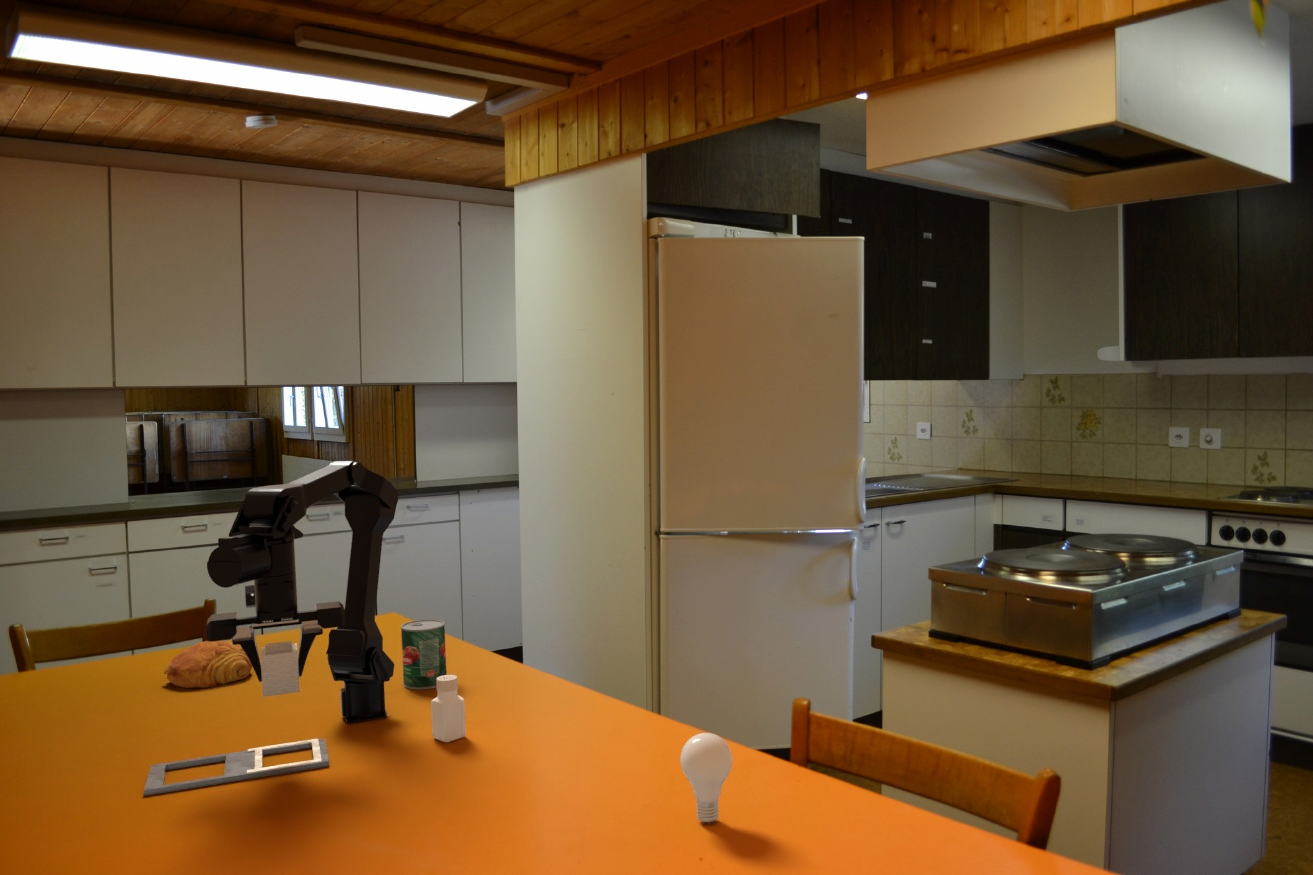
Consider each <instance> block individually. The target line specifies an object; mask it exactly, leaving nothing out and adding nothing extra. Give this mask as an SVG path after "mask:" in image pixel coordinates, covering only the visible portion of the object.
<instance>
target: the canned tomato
mask: <svg viewBox="0 0 1313 875" xmlns="http://www.w3.org/2000/svg"><path fill="white" fill-rule="evenodd" d="M445 623H446V622H444V621H443V620H440V619H418V620H412V621H407V622H404V623H403V624H401V625H400V630H401V633H400V634H401V651H402V653H401V654H402V655H401V656H402V672H403V674H402V677H403V687H405V688H407V689H408V690H409V689H410V690H431V689H437V686H436V679H437V677H440V676H443V675H448V674H447V656H446V655H447V653H446V632H445V631H446V630H445V629H446V628H445V626H446V624H445Z"/></svg>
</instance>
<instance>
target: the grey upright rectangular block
mask: <svg viewBox="0 0 1313 875" xmlns="http://www.w3.org/2000/svg"><path fill="white" fill-rule="evenodd" d="M297 644H298V643H296V642H295V643H293V642H292V640H290V641H289V640H287V641H279V642H271V643H265V646H261V647H260V663H261V674H262V682H261V689H262V698H264V697H265V698H267V697H272V696H273V697H274V696H280V695H287V694H295V693H300V692H301V691H300V690H301V689H300V677H299V669H298V655H299V650H298V645H297Z"/></svg>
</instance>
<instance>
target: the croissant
mask: <svg viewBox="0 0 1313 875" xmlns="http://www.w3.org/2000/svg"><path fill="white" fill-rule="evenodd" d="M252 669H253V666H252V664H251V662H250V660H249V658H248V656H247V655H246V653H245V652H244V650H243V649H242V647H241V646H240V645H239V644H238V645H233V644H232V641H228V640H221V641H213V642H210V641H207V640H205V641H201V642H198V643H195V644H192V646H190V647H187V648H186V649H184V650H183V651H181V652H180V653H179V654H177V655H176V656H174V657H173V658H172V660H171V661H170V663H169V664H168V665H167V666H166V668H165V669H164V670H163V674H164V675H166V679H167V680H168V682H169V683H170V684H172V685H174V686H177V687H180V688H187V689H190V688H191V689H192V688H203V689H205V688H213V687H216V686H218V685H225V684H226V685H227V684H229V683H232V682H237V681H239V680H240V681H241V680H244V679H245V678H247V677H248V676H249V674H251V671H252Z"/></svg>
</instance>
